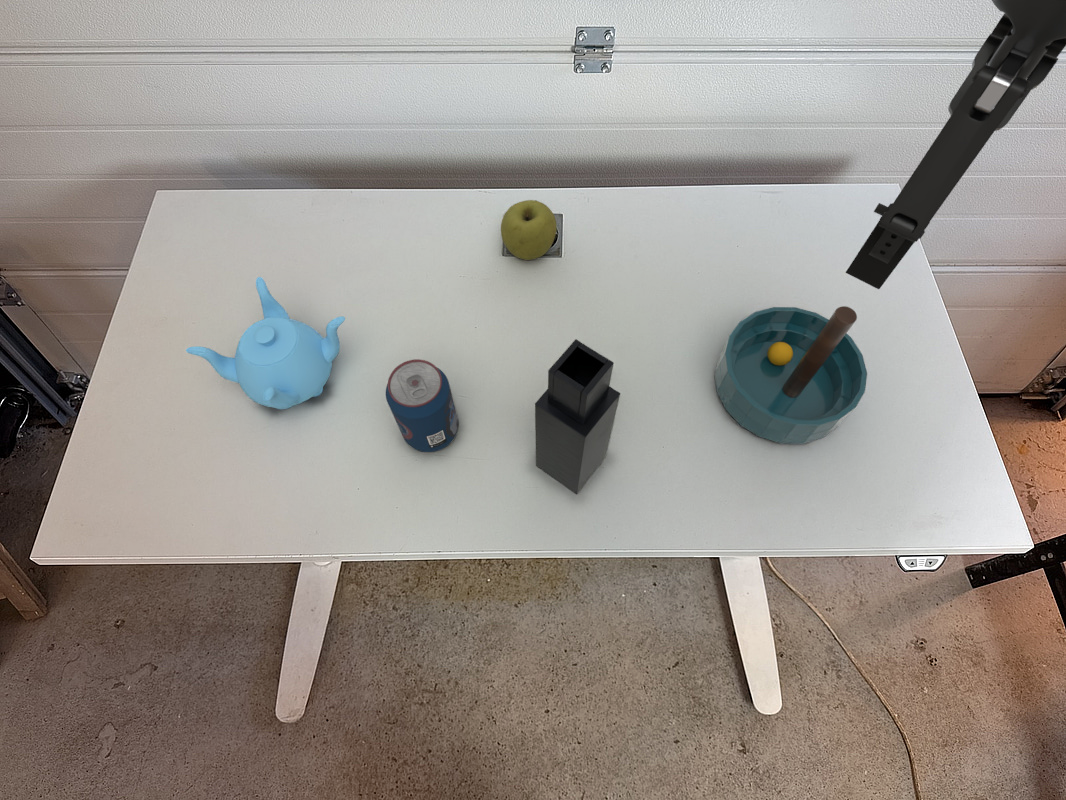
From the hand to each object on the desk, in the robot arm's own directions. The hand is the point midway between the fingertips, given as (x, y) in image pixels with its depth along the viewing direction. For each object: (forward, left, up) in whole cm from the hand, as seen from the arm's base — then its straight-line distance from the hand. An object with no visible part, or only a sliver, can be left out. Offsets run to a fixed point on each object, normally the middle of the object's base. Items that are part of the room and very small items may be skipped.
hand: (898, 225), depth 51 cm
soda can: (-28, +32, -32) cm, 53 cm away
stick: (+3, -1, -31) cm, 31 cm away
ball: (+6, +3, -29) cm, 30 cm away
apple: (+2, +40, -32) cm, 51 cm away
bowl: (+3, +1, -32) cm, 32 cm away
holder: (-21, +16, -32) cm, 41 cm away
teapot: (-33, +51, -32) cm, 68 cm away
